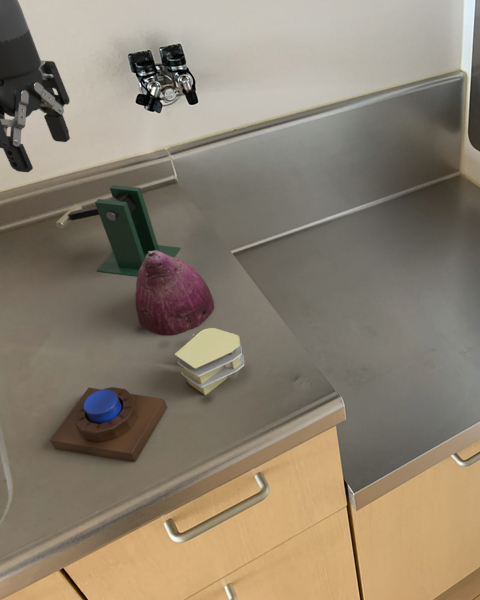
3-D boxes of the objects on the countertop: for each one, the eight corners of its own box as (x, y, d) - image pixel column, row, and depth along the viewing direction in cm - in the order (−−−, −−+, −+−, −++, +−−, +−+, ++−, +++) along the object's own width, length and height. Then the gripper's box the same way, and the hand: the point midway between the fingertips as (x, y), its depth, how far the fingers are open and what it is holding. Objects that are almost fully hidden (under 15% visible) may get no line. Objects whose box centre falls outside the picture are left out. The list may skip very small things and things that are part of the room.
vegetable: (205, 354, 87) (188, 296, 74) (132, 344, 86) (102, 283, 74) (224, 294, 92) (212, 230, 80) (156, 284, 92) (132, 218, 80)
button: (82, 421, 70) (77, 411, 69) (99, 397, 73) (94, 387, 71) (111, 425, 69) (106, 416, 68) (127, 401, 72) (123, 391, 71)
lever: (61, 232, 92) (51, 219, 90) (79, 214, 96) (70, 201, 94) (125, 220, 88) (115, 206, 87) (141, 201, 92) (133, 188, 90)
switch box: (55, 448, 71) (43, 430, 68) (92, 396, 77) (83, 377, 74) (135, 462, 69) (126, 443, 67) (167, 407, 75) (160, 389, 73)
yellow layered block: (209, 417, 74) (200, 387, 71) (163, 383, 78) (152, 353, 75) (269, 369, 80) (264, 339, 77) (224, 339, 84) (216, 310, 81)
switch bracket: (98, 276, 94) (70, 206, 86) (125, 246, 100) (100, 177, 92) (159, 284, 93) (136, 213, 85) (182, 253, 99) (163, 184, 91)
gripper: (2, 10, 78) (49, 129, 88) (-82, 48, 67) (-17, 179, 78) (57, 13, 77) (97, 134, 87) (-20, 53, 66) (37, 184, 77)
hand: (44, 155), depth 82 cm, fingers open, 8 cm apart
